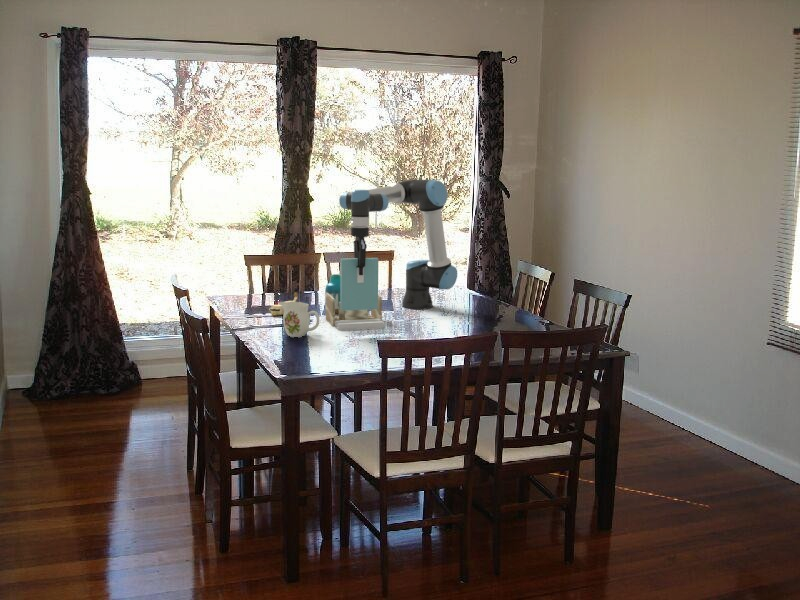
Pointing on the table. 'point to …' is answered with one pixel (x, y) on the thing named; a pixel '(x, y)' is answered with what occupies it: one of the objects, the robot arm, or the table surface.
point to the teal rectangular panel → (359, 285)
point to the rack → (331, 317)
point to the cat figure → (280, 307)
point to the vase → (334, 290)
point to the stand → (359, 324)
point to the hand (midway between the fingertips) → (359, 281)
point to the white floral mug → (297, 318)
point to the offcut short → (355, 314)
